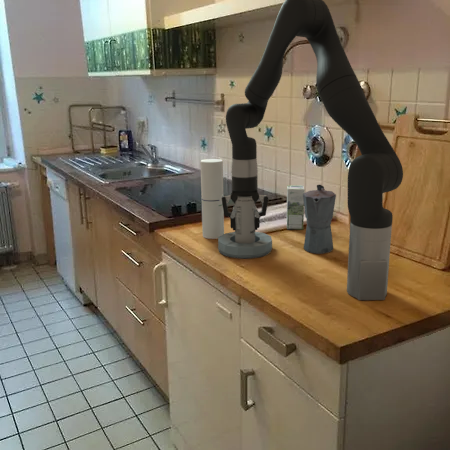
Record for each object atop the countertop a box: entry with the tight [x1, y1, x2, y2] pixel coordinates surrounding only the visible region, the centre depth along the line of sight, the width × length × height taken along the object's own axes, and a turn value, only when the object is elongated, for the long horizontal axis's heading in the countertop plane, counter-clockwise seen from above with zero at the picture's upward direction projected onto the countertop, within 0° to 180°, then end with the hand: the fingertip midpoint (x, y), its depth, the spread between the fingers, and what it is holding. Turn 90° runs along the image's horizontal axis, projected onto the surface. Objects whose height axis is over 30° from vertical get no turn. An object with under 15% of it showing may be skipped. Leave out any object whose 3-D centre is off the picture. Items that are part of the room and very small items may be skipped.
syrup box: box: [286, 185, 306, 230], centre depth 171 cm, size 6×6×14 cm
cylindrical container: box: [200, 158, 225, 240], centre depth 163 cm, size 7×7×25 cm
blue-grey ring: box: [217, 231, 273, 260], centre depth 151 cm, size 16×16×4 cm
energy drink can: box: [234, 196, 256, 243], centre depth 149 cm, size 6×6×15 cm
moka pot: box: [303, 184, 337, 255], centre depth 149 cm, size 10×15×20 cm, turn 166°
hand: (245, 229), depth 150 cm, fingers closed on energy drink can, 6 cm apart
